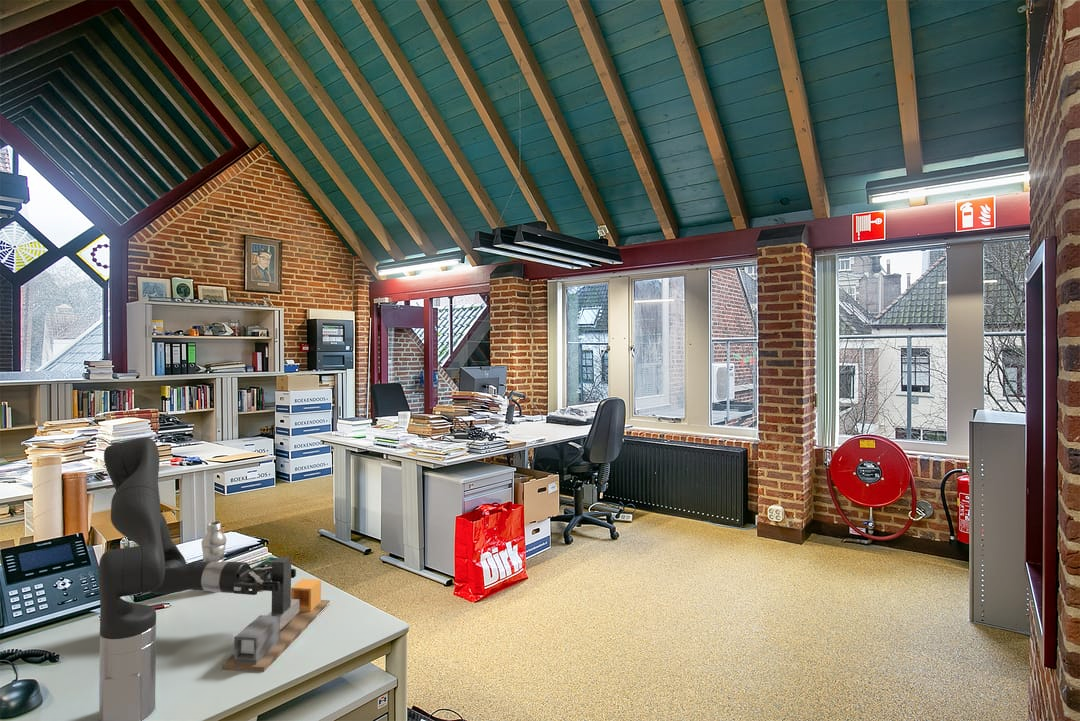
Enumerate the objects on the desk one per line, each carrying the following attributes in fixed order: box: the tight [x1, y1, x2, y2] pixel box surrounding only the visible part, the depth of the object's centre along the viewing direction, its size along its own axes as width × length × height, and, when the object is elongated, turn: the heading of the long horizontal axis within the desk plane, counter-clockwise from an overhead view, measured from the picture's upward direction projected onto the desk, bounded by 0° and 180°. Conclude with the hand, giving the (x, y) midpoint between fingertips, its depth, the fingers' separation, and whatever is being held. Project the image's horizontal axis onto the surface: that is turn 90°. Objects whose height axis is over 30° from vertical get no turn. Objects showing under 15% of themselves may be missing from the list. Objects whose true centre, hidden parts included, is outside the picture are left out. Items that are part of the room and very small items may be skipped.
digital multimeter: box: [251, 557, 278, 577], centre depth 193 cm, size 7×15×3 cm, turn 170°
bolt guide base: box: [220, 599, 331, 673], centre depth 153 cm, size 36×10×7 cm, turn 176°
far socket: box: [291, 578, 322, 612], centre depth 167 cm, size 6×6×6 cm
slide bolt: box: [241, 556, 299, 654], centre depth 148 cm, size 22×3×16 cm, turn 176°
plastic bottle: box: [201, 521, 227, 562], centre depth 179 cm, size 6×7×20 cm
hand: (287, 579), depth 152 cm, fingers open, 8 cm apart
